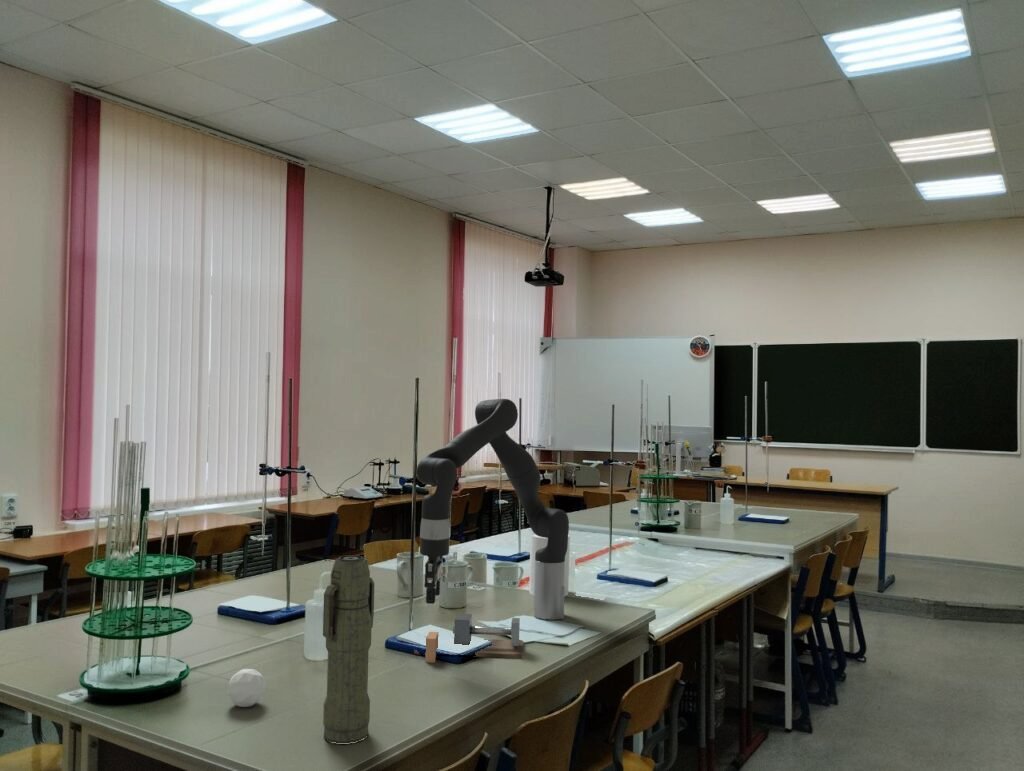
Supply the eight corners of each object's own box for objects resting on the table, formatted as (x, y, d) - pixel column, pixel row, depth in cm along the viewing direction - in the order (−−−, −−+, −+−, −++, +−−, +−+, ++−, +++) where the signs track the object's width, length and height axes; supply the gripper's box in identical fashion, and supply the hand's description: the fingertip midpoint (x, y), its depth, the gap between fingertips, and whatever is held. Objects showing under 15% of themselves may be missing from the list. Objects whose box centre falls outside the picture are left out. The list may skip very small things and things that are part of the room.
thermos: (307, 741, 155) (312, 559, 156) (348, 720, 166) (353, 550, 166) (342, 752, 151) (347, 565, 152) (382, 730, 161) (387, 555, 162)
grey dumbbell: (519, 640, 216) (519, 618, 216) (518, 646, 211) (519, 623, 211) (454, 637, 217) (454, 615, 217) (451, 643, 212) (452, 620, 212)
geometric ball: (255, 718, 172) (273, 692, 170) (219, 711, 168) (237, 685, 166) (254, 689, 179) (271, 665, 177) (220, 682, 175) (237, 657, 173)
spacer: (437, 655, 209) (438, 631, 209) (434, 662, 203) (435, 638, 203) (428, 654, 209) (429, 631, 209) (425, 662, 203) (425, 638, 203)
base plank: (523, 644, 220) (523, 640, 220) (521, 658, 208) (521, 654, 208) (421, 640, 221) (421, 636, 221) (414, 654, 209) (414, 650, 209)
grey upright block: (471, 641, 217) (471, 614, 218) (469, 648, 211) (469, 620, 212) (456, 641, 218) (457, 613, 218) (453, 648, 212) (454, 619, 212)
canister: (543, 586, 288) (544, 530, 288) (575, 592, 280) (576, 534, 280) (521, 593, 277) (523, 535, 277) (554, 599, 269) (556, 539, 269)
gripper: (445, 541, 199) (443, 606, 199) (452, 531, 213) (450, 593, 213) (415, 540, 199) (413, 605, 199) (424, 530, 214) (422, 592, 213)
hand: (433, 599), depth 206 cm, fingers open, 8 cm apart
